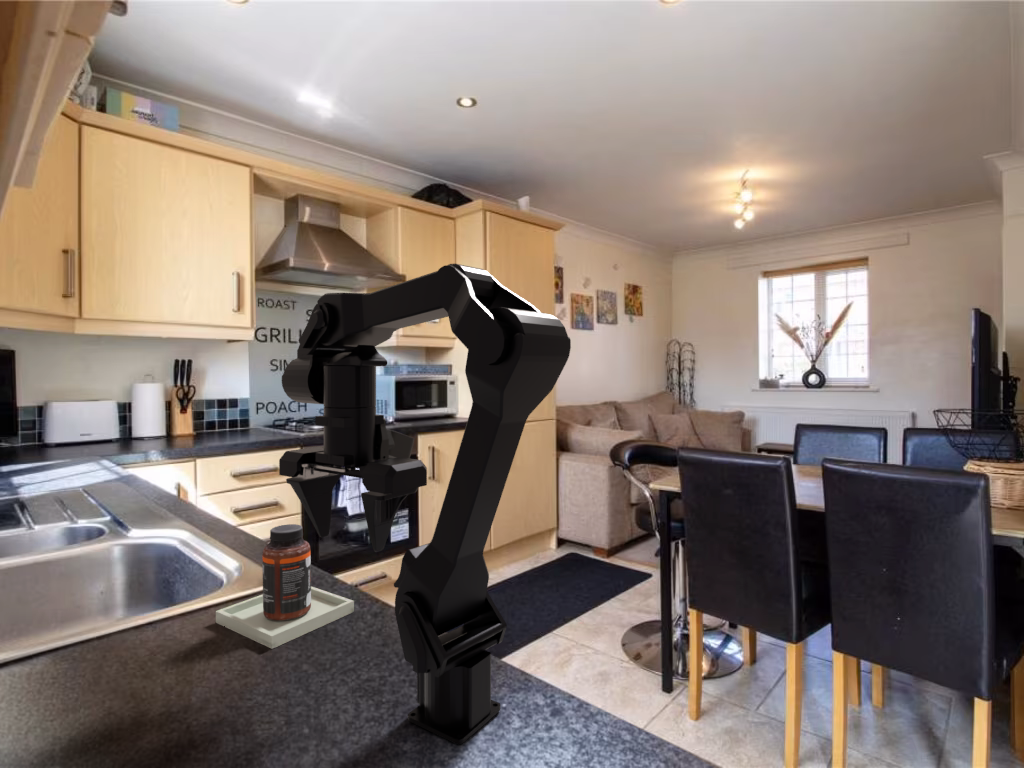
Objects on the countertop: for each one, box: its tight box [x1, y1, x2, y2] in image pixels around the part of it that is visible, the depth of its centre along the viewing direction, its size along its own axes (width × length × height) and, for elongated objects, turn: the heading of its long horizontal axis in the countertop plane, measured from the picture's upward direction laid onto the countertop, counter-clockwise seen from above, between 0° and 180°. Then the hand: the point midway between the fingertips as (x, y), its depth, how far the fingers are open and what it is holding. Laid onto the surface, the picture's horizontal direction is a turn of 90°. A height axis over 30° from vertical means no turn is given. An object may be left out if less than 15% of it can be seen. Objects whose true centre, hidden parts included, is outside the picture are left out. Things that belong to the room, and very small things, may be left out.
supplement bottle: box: [261, 523, 312, 621], centre depth 74 cm, size 6×6×11 cm
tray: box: [215, 585, 355, 650], centre depth 74 cm, size 12×12×2 cm
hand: (350, 543), depth 64 cm, fingers open, 9 cm apart
